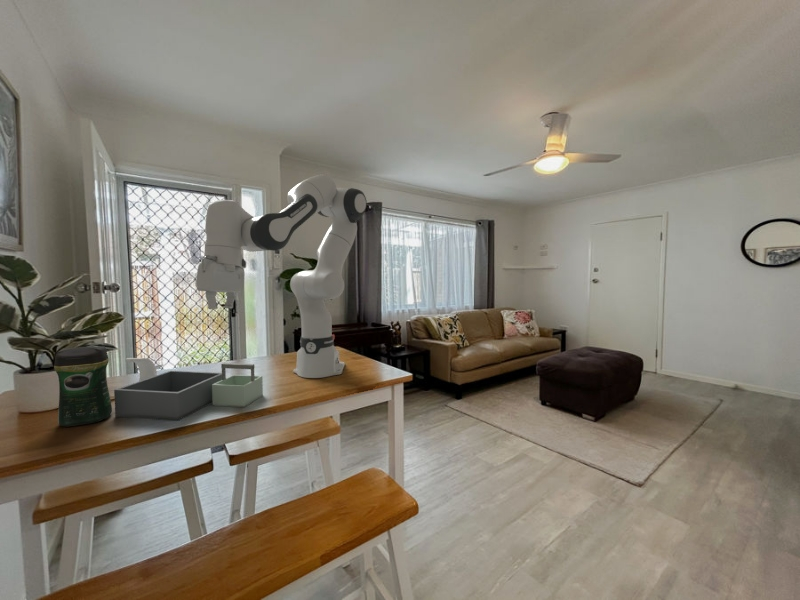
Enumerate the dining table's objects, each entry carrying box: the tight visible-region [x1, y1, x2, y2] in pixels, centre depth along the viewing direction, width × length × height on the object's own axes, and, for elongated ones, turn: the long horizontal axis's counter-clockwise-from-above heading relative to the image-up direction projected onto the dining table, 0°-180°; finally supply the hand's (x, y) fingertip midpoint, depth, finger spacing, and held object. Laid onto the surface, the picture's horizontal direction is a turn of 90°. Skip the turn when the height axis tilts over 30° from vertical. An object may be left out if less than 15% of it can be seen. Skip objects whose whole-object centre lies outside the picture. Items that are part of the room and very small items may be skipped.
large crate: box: [113, 370, 222, 421], centre depth 93 cm, size 18×18×7 cm
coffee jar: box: [53, 346, 113, 427], centre depth 83 cm, size 10×8×19 cm
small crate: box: [212, 362, 264, 408], centre depth 97 cm, size 10×10×11 cm
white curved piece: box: [125, 357, 158, 382], centre depth 101 cm, size 5×6×12 cm
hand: (221, 308), depth 92 cm, fingers open, 8 cm apart
